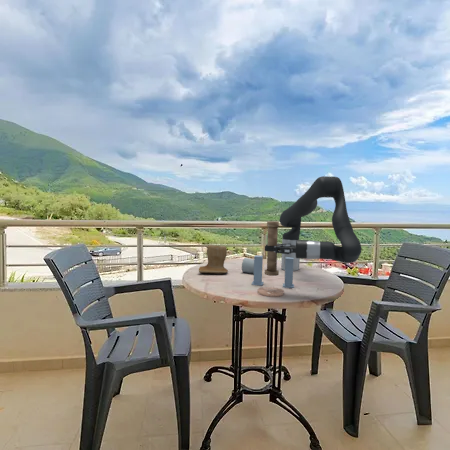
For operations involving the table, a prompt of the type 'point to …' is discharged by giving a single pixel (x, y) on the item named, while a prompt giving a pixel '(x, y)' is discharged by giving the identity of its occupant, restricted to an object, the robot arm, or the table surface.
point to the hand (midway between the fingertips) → (265, 247)
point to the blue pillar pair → (288, 271)
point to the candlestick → (271, 255)
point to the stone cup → (215, 260)
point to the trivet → (270, 291)
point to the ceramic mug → (248, 265)
